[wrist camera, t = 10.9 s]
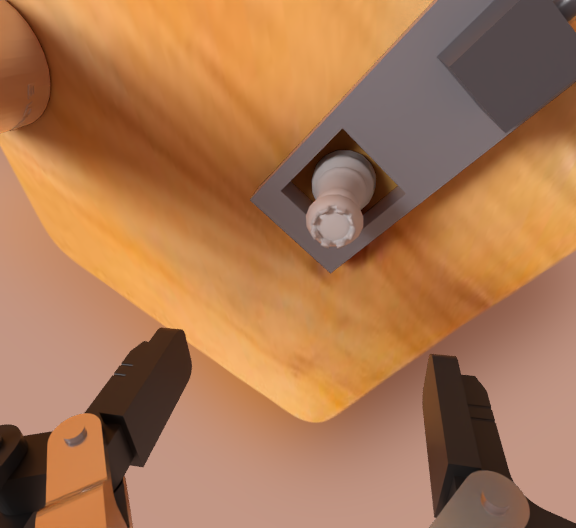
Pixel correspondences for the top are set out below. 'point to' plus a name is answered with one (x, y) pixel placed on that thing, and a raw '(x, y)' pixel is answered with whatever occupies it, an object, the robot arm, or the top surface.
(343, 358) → the top surface
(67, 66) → the top surface
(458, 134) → the grey holder tray
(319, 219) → the rook chess piece
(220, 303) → the top surface
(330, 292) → the top surface
